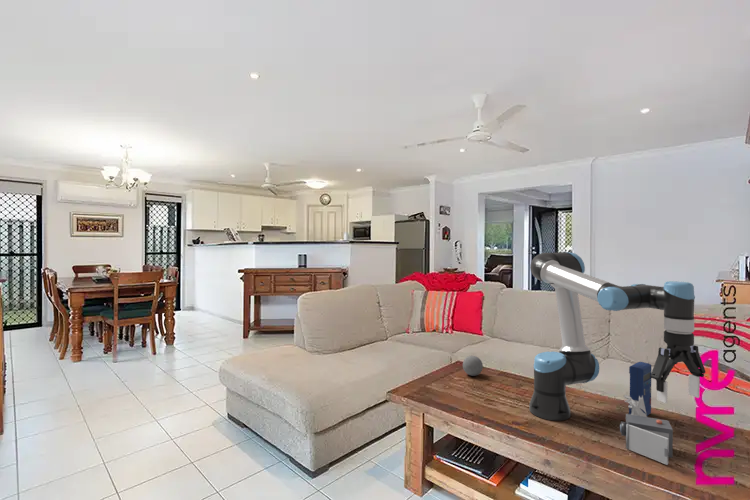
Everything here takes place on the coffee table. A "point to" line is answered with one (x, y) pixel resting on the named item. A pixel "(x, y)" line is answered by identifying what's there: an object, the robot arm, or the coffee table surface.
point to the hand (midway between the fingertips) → (678, 398)
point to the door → (647, 443)
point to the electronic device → (641, 384)
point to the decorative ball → (472, 365)
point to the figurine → (636, 406)
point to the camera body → (650, 428)
